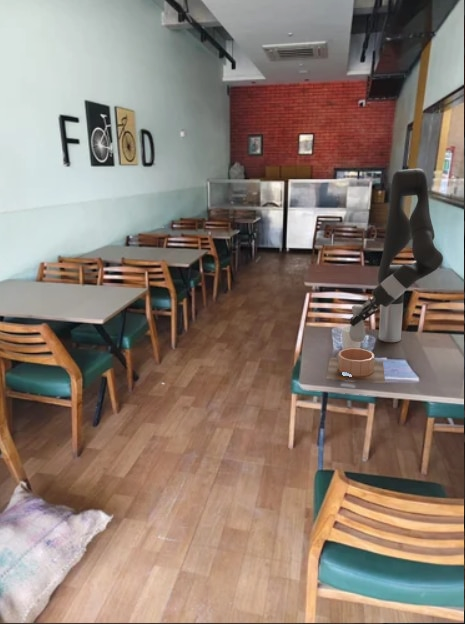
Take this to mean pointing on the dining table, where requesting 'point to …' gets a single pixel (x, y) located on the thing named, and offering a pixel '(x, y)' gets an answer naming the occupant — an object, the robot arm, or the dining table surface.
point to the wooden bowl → (356, 362)
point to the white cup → (348, 339)
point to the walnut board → (374, 377)
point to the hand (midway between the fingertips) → (351, 322)
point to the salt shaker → (357, 326)
